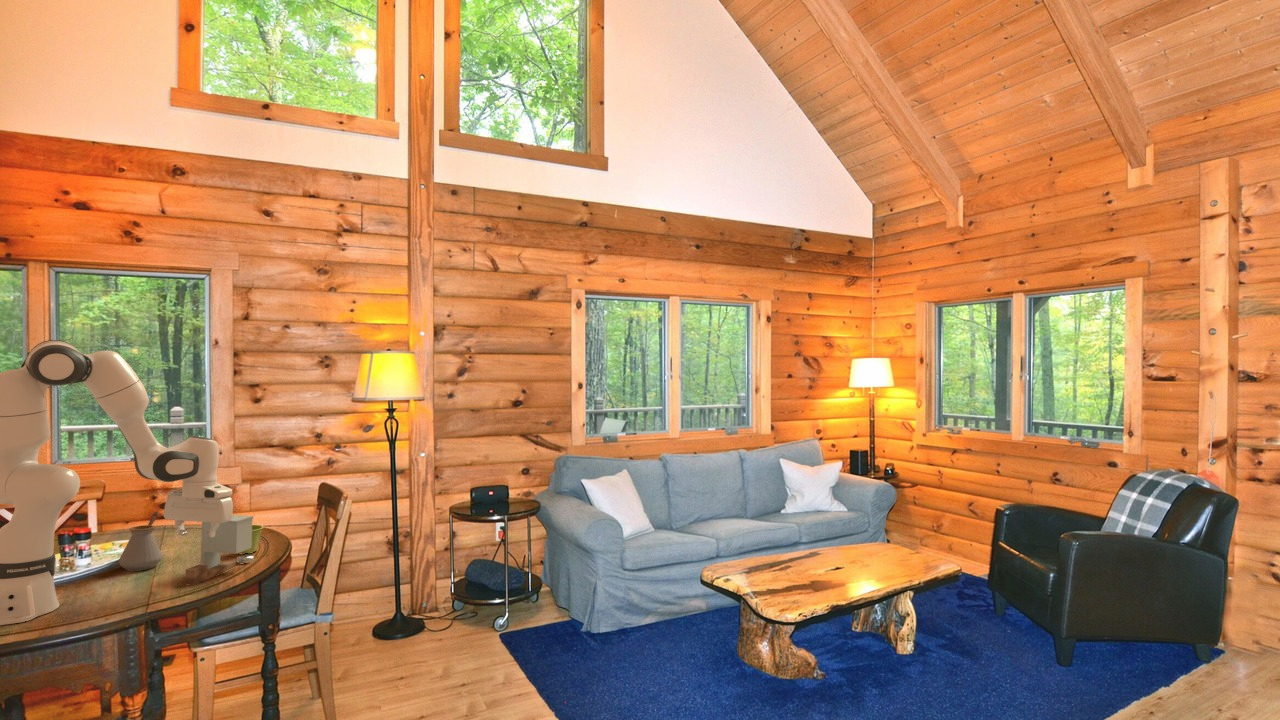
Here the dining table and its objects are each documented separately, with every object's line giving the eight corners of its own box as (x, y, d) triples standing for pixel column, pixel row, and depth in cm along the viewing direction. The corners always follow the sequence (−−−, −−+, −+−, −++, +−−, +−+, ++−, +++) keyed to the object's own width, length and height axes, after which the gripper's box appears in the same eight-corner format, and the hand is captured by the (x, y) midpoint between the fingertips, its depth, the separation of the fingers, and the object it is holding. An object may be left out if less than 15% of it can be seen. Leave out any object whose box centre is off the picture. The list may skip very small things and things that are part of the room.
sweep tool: (194, 585, 199) (195, 570, 199) (185, 584, 199) (185, 569, 199) (235, 567, 216) (236, 553, 216) (227, 567, 217) (227, 553, 217)
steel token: (237, 565, 219) (238, 559, 219) (235, 561, 223) (236, 555, 223) (255, 563, 222) (255, 557, 222) (252, 559, 226) (253, 553, 226)
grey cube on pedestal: (235, 574, 209) (237, 521, 209) (199, 572, 211) (201, 519, 211) (251, 567, 217) (253, 516, 217) (216, 565, 218) (218, 514, 218)
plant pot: (241, 548, 238) (242, 524, 238) (267, 549, 238) (268, 524, 238) (225, 555, 229) (226, 530, 229) (252, 556, 229) (253, 531, 229)
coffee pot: (156, 571, 211) (157, 523, 211) (112, 574, 206) (113, 525, 207) (176, 553, 231) (177, 509, 231) (136, 555, 226) (137, 511, 227)
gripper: (159, 489, 200) (156, 536, 199) (222, 493, 198) (219, 540, 197) (176, 486, 206) (173, 531, 206) (237, 490, 204) (234, 535, 203)
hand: (196, 536), depth 201 cm, fingers open, 8 cm apart
